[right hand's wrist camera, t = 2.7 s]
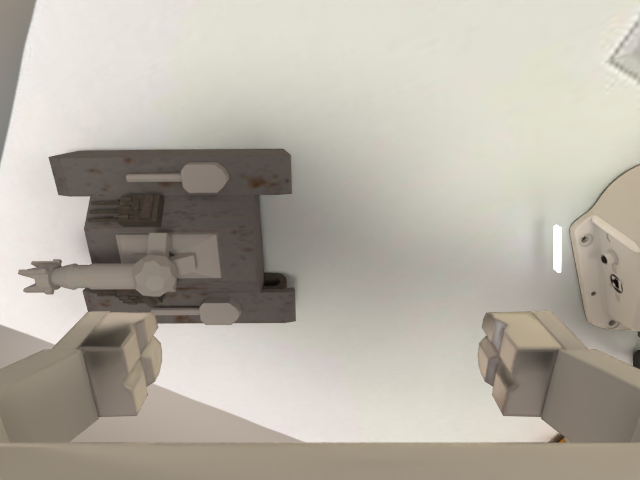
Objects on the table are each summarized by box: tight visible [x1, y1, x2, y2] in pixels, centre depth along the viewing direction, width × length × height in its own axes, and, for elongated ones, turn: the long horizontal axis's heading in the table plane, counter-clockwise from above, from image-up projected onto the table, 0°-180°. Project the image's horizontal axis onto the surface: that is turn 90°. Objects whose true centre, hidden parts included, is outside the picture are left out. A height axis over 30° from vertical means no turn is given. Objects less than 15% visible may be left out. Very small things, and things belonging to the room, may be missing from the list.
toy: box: [18, 149, 296, 325], centre depth 45 cm, size 25×20×15 cm
